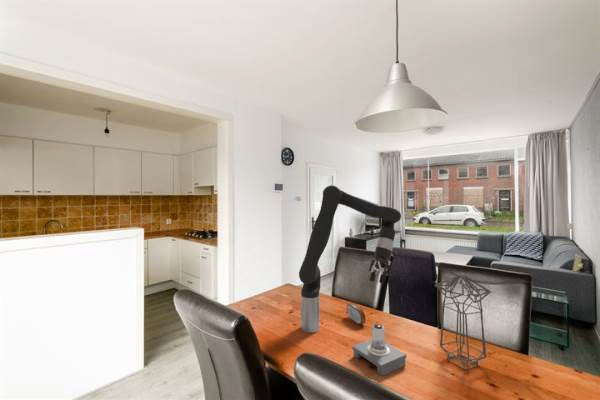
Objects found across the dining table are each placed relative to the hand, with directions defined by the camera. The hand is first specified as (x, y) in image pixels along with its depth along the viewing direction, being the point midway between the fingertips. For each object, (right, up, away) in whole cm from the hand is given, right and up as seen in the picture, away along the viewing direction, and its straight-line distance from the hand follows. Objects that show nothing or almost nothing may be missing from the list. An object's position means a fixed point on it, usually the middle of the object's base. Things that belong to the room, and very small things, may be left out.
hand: (376, 282), depth 125 cm
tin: (-5, -28, +22) cm, 36 cm away
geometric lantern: (+31, -27, -16) cm, 44 cm away
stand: (-3, -27, -15) cm, 31 cm away
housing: (-3, -23, -15) cm, 28 cm away
